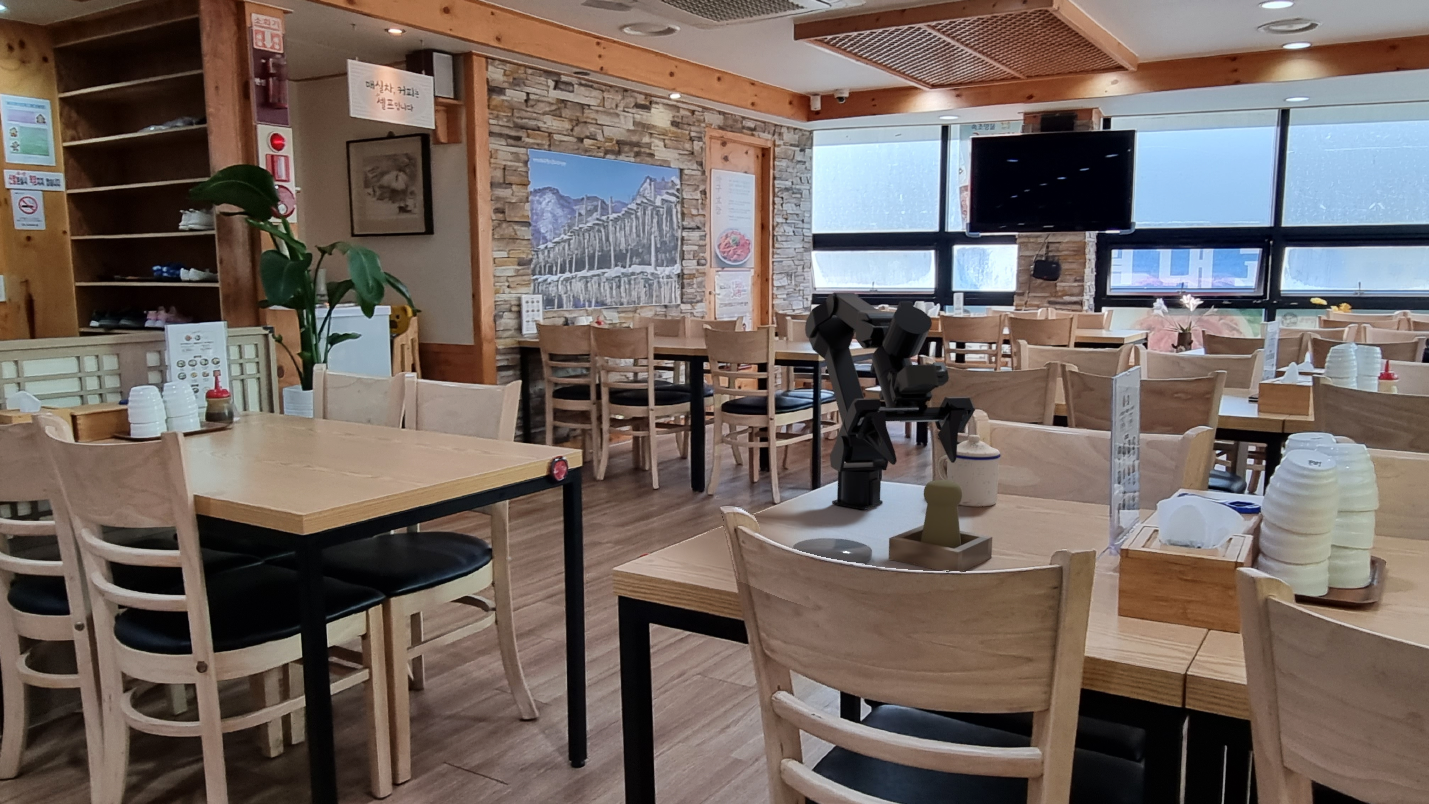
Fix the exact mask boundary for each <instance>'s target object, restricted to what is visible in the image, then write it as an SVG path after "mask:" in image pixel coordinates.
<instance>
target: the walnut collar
mask: <svg viewBox="0 0 1429 804" xmlns="http://www.w3.org/2000/svg"><path fill="white" fill-rule="evenodd" d="M923 526H924V524H922V525H920V526H917V527H915V528H912V529H909V530H906V531H904V532H902V533H899V534H897V535H893V536H891V537H889V538H888V560H890V561H896V562H900V563H905V564H909V565H913V566H917V567H922V568H928V569H931V568H932V570H937V571H940V570H949V571H963V570H965V571H967V570H969V569H971V568H973V567H976V566H977V565H979V564H981V563H984V562H986V561H988V560H990V559H992V555H993V554H992V552H993V536H989V535H985V534H979V533H975V532H969V531H965V530H964V531H963V530H960V538H961V546H959V547H957V548H955V549H953V548H948V547H943V546H938V545H933V544H929V543H924V542H921V538H922V532H923ZM963 572H964V571H963Z"/></svg>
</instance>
